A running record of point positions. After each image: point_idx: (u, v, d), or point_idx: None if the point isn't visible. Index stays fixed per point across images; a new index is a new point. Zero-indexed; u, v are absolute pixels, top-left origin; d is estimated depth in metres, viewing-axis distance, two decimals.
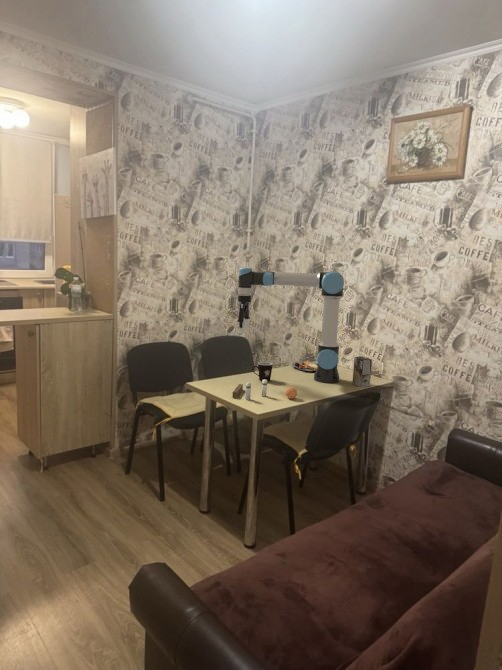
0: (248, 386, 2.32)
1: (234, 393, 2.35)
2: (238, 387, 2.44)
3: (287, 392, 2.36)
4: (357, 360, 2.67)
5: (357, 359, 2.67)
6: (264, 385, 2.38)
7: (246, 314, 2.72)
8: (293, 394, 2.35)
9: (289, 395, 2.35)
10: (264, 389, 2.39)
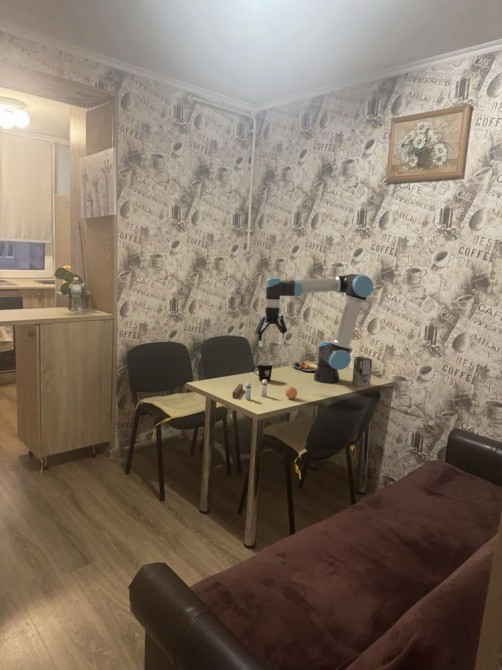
0: (248, 386, 2.32)
1: (234, 393, 2.35)
2: (238, 387, 2.44)
3: (287, 392, 2.36)
4: (357, 360, 2.67)
5: (357, 359, 2.67)
6: (264, 385, 2.38)
7: (279, 328, 2.54)
8: (293, 394, 2.35)
9: (289, 395, 2.35)
10: (264, 389, 2.39)
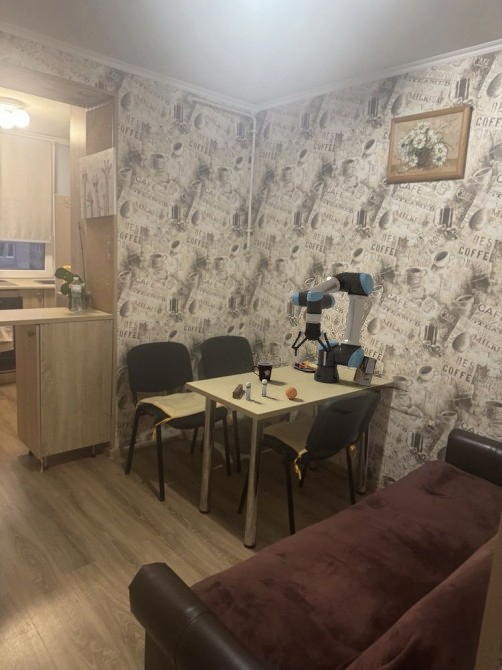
0: (248, 386, 2.32)
1: (234, 393, 2.35)
2: (238, 387, 2.44)
3: (287, 392, 2.36)
4: None
5: None
6: (264, 385, 2.38)
7: (321, 346, 2.31)
8: (293, 394, 2.35)
9: (289, 395, 2.35)
10: (264, 389, 2.39)
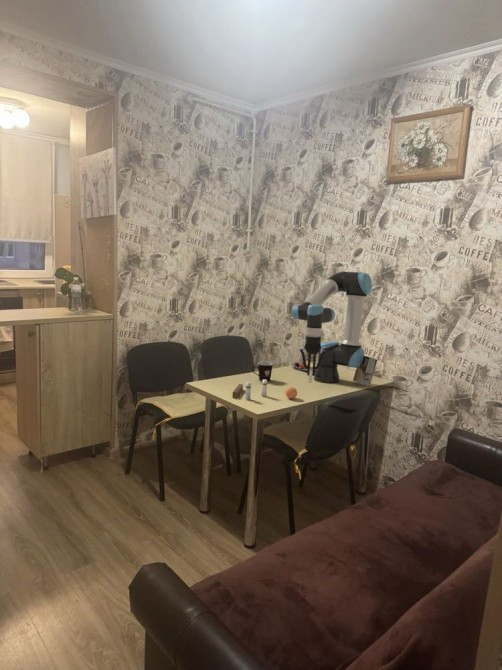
0: (248, 386, 2.32)
1: (234, 393, 2.35)
2: (238, 387, 2.44)
3: (287, 392, 2.36)
4: None
5: None
6: (264, 385, 2.38)
7: (313, 361, 2.32)
8: (293, 394, 2.35)
9: (289, 395, 2.35)
10: (264, 389, 2.39)
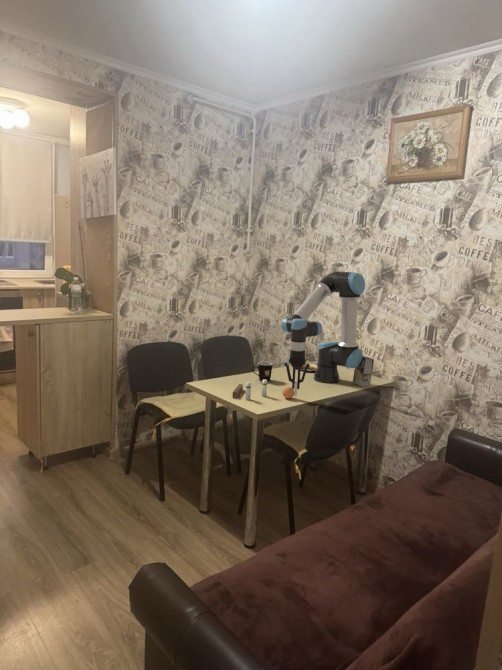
0: (248, 386, 2.32)
1: (234, 393, 2.35)
2: (238, 387, 2.44)
3: (284, 393, 2.36)
4: None
5: None
6: (264, 385, 2.38)
7: None
8: (290, 393, 2.35)
9: (286, 395, 2.35)
10: (264, 389, 2.39)
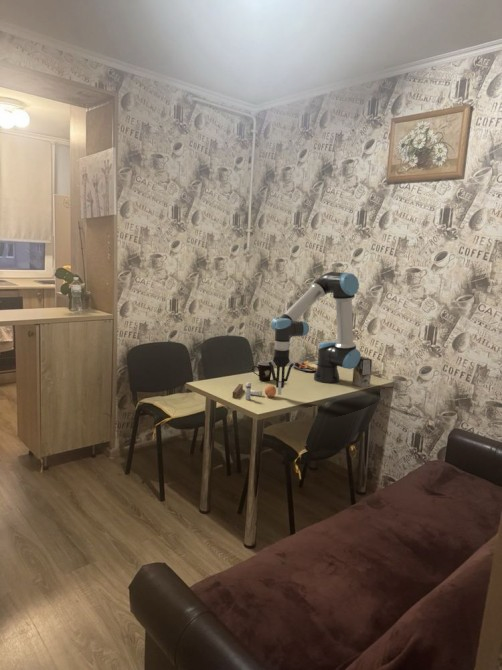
0: (248, 386, 2.32)
1: (234, 393, 2.35)
2: (238, 387, 2.44)
3: (272, 394, 2.37)
4: None
5: None
6: None
7: None
8: (267, 390, 2.37)
9: (271, 391, 2.37)
10: (253, 393, 2.40)
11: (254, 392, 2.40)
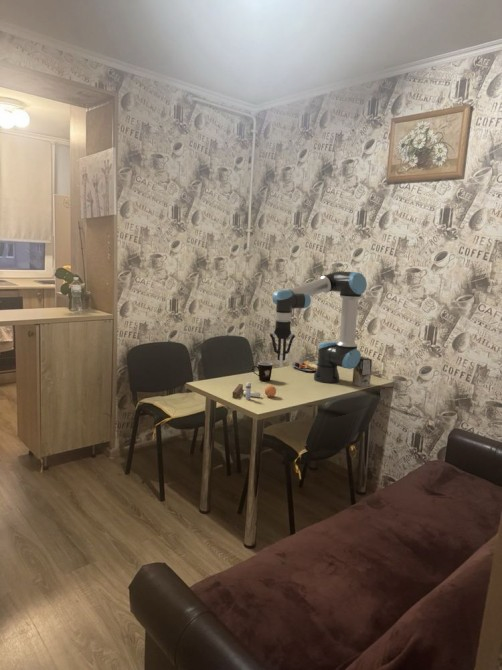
0: (248, 386, 2.32)
1: (234, 393, 2.35)
2: (238, 387, 2.44)
3: (272, 394, 2.37)
4: None
5: None
6: None
7: (283, 346, 2.34)
8: (267, 390, 2.37)
9: (271, 391, 2.37)
10: None
11: None
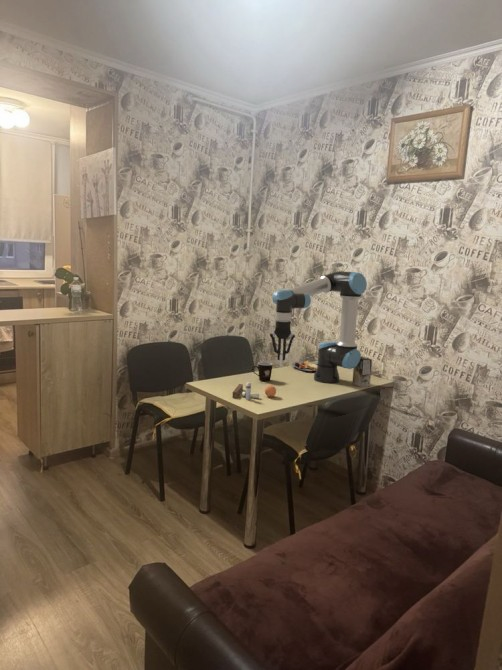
0: (248, 386, 2.32)
1: (234, 393, 2.35)
2: (238, 387, 2.44)
3: (272, 394, 2.37)
4: None
5: None
6: None
7: (283, 346, 2.34)
8: (267, 390, 2.37)
9: (271, 391, 2.37)
10: None
11: None
